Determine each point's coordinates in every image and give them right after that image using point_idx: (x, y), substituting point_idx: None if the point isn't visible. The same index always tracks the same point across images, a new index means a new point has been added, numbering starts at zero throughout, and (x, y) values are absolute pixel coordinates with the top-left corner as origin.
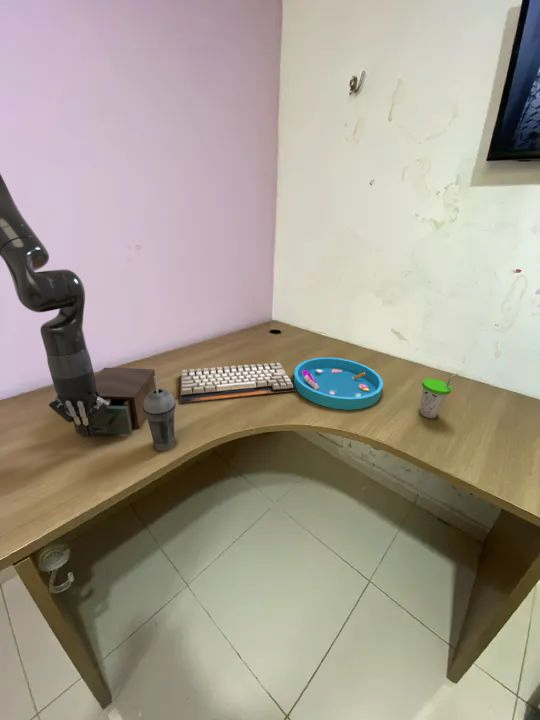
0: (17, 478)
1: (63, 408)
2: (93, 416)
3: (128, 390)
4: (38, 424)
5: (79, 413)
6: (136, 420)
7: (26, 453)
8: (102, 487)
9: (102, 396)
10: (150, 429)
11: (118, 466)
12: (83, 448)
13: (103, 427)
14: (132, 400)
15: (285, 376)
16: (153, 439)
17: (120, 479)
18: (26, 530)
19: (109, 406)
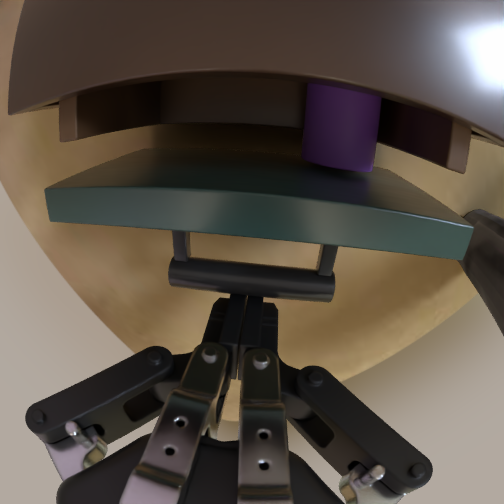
0: (121, 325)
1: (112, 430)
2: (309, 440)
3: (465, 12)
4: (22, 123)
5: (214, 430)
6: None
7: (71, 249)
8: (328, 366)
9: (228, 72)
10: (488, 300)
11: (356, 316)
12: (211, 235)
13: (315, 299)
14: (494, 141)
15: None
16: (470, 279)
17: (365, 350)
18: (229, 410)
19: (350, 219)
